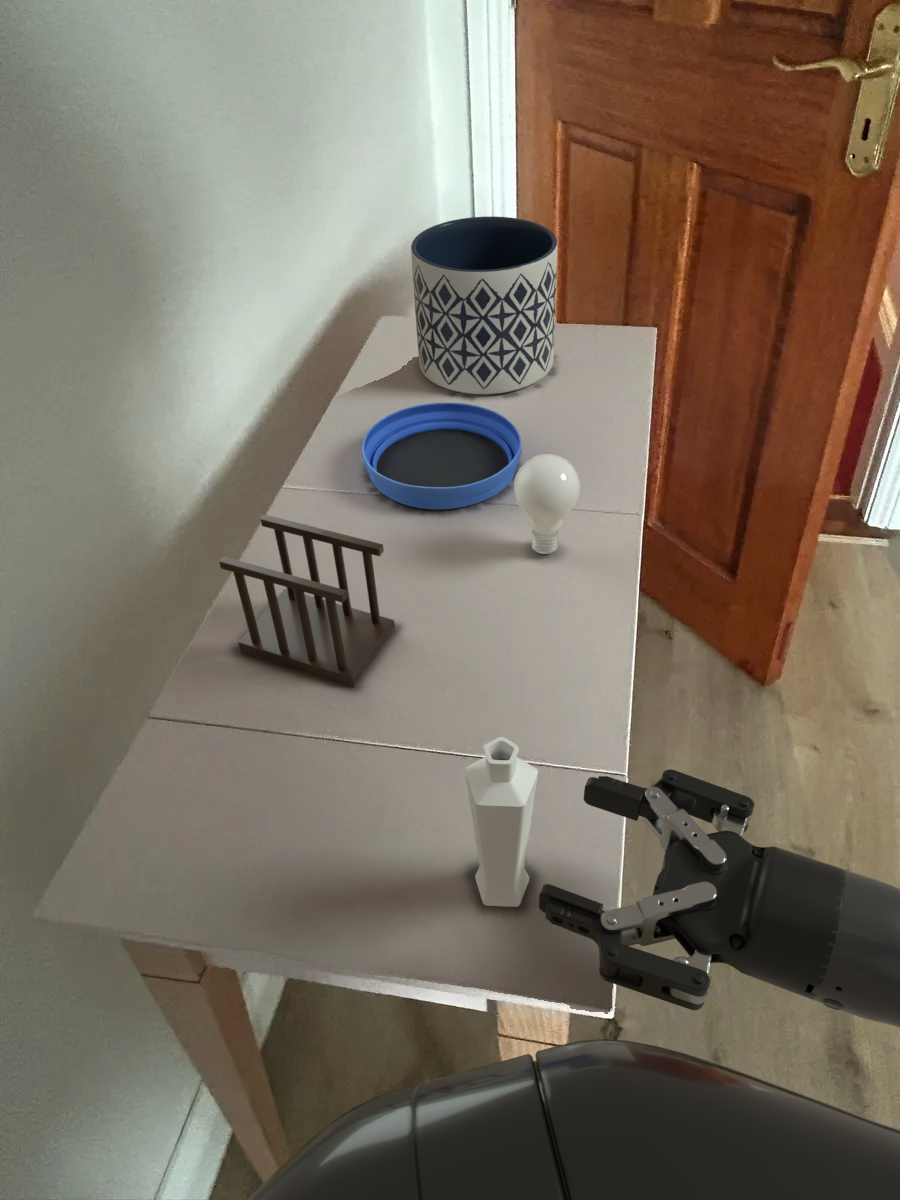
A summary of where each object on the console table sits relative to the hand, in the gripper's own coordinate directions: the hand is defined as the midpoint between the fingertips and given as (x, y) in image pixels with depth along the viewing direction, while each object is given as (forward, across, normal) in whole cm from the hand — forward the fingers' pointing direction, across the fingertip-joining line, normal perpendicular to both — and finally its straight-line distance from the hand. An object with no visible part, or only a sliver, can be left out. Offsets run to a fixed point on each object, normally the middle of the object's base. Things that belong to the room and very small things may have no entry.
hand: (564, 840), depth 58 cm
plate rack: (+29, -17, +8) cm, 35 cm away
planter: (+36, -72, +9) cm, 81 cm away
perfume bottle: (+4, 0, +9) cm, 10 cm away
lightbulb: (+14, -37, +9) cm, 41 cm away
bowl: (+30, -47, +9) cm, 57 cm away
